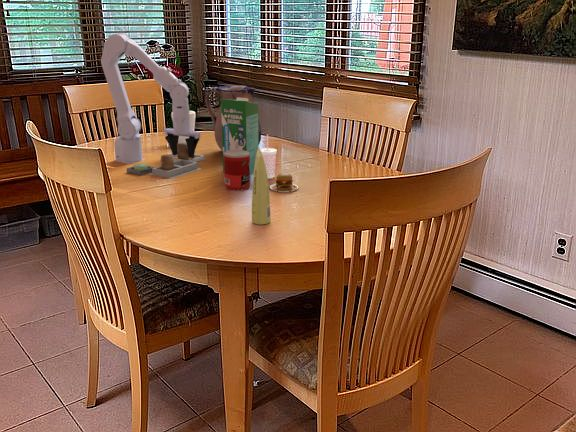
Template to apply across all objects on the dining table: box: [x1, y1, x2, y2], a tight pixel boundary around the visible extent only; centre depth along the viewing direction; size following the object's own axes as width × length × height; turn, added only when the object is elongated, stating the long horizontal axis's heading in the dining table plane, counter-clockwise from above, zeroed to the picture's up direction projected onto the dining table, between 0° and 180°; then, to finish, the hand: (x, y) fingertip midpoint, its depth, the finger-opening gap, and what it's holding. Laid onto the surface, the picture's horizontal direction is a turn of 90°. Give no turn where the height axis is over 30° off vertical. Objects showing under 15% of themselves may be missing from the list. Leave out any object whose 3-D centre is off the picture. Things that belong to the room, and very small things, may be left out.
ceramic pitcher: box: [204, 85, 262, 152], centre depth 217 cm, size 18×21×25 cm
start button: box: [133, 163, 149, 171], centre depth 191 cm, size 4×4×3 cm
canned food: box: [223, 150, 251, 191], centre depth 178 cm, size 8×8×11 cm
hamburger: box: [269, 172, 299, 193], centre depth 178 cm, size 12×12×6 cm
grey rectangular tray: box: [149, 160, 202, 180], centre depth 193 cm, size 10×15×3 cm, turn 147°
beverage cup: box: [260, 134, 278, 179], centre depth 189 cm, size 6×6×14 cm
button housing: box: [126, 165, 156, 176], centre depth 192 cm, size 6×6×2 cm
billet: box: [177, 143, 190, 160], centre depth 207 cm, size 4×4×6 cm
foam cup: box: [170, 110, 197, 143], centre depth 233 cm, size 10×9×13 cm
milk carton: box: [220, 98, 260, 175], centre depth 192 cm, size 9×9×25 cm
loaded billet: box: [160, 153, 175, 171], centre depth 189 cm, size 4×4×6 cm
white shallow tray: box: [170, 152, 207, 163], centre depth 208 cm, size 13×10×2 cm
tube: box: [251, 146, 271, 226], centre depth 148 cm, size 6×5×20 cm
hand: (183, 155), depth 208 cm, fingers open, 7 cm apart
